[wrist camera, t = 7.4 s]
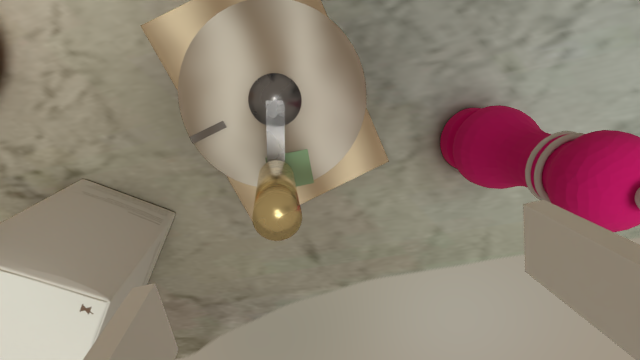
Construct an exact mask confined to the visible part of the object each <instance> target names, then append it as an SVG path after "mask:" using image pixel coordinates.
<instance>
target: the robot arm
mask: <svg viewBox="0 0 640 360" xmlns="http://www.w3.org/2000/svg"><path fill="white" fill-rule="evenodd" d="M523 214H524V248H525V272H526V273H528V274H529V275H530V276H531V277H533V278H534V279H535V280H536V281H538V282H539V283H540V284H541V285H543V286H544V287H545V288H547V289H548V290H549V291H550V292H551V293H553V294H554V295H555V296H556V297H558V298H559V299H560V300H562V301H563V302H564V303H565V304H567V305H568V306H569V307H570V308H572V309H573V310H574V311H575V312H577V313H578V314H579V315H580V316H582V317H583V318H584V319H585V320H587V321H588V322H589V323H590V324H592V325H593V326H594V327H596V328H597V329H598V330H599V331H600V332H602V333H603V334H604V335H605V336H607V337H608V338H609V339H611V340H612V341H613V342H614V343H615V344H617V345H618V346H619V347H621V348H622V349H623V350H624V351H626V352H627V353H628V354H629V355H631V356H632V357H633V358H634V359H636V360H640V245H639V244H637V243H635V242H633V241H631V240H629V239H626V238H624V237H622V236H620V235H618V234H616V233H614V232H612V231H609V230H607V229H605V228H603V227H601V226H599V225H597V224H594V223H592V222H590V221H588V220H586V219H584V218H582V217H580V216H577V215H575V214H573V213H571V212H569V211H567V210H565V209H562V208H560V207H558V206H556V205H554V204H552V203H550V202H548V201H545V200H540V201H535V202H530V203H526V204H523ZM177 352H178V347H177V344H176V341H175V338H174V335H173V333H172V330H171V327H170V324H169V321H168V318H167V315H166V313H165V310H164V307H163V304H162V301H161V298H160V295H159V293H158V290H157V287H156V284H155V283H153V284H148V285H144V286H139V287H134V288H132V289H131V291H130V292H129V294H128V295H127V297H126V298H125V299H124V301H123V302H122V304H121V305H120V307H119V308H118V310H117V311H116V312H115V314H114V315H113V317H112V318H111V320H110V321H109V323H108V324H107V325H106V327H105V328H104V330H103V331H102V333H101V334H100V336H99V337H98V338H97V340H96V341H95V343H94V344H93V346H92V347H91V349H90V350H89V351H88V353H87V354H86V356H85V357H84V359H83V360H175V357H176V354H177Z"/></svg>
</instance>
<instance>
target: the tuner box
mask: <svg viewBox="0 0 640 360" xmlns="http://www.w3.org/2000/svg"><path fill="white" fill-rule="evenodd" d="M141 27H142V29H143V31H144V33H145V34H146V36H147V38H148V40H149V41H150V43H151V45H152V47H153V48H154V50H155V52H156V54H157V55H158V57H159V59H160V61H161V62H162V64H163V66H164V68H165V69H166V71H167V73H168V75H169V76H170V78H171V80H172V82H173V83H174V85H175V87H176V89H177V90H178V99H179V107H180V112H181V117H182V120H183V122H184V125H185V128H186V130H187V132H188V134H189V136H190V137H189V138H190V139H191V141H192V143H193V144H194V145H195V146H196V148H197V149H198V151H199V152H200V153H201V154H202V155H203V156H204V158H205V159H206V160H207V161H208V162H209V163H211V164H212V165H213V166H214V167H215V168H216V169H218V170H219V171H221V172H222V173H224V174H225V175H226V176H227V178H228V179H229V181H230V183H231V185H232V186H233V188H234V190H235V192H236V193H237V195H238V197H239V199H240V200H241V202H242V204H243V206H244V207H245V209H246V211H247V213H248V214H249V216H250V218H251V220H252V215H253V209H254V202H255V196H256V189H257V183H258V176H259V172H260V169H261V168H262V167H263V165H265V164H266V163H267V134H266V125H264V124H262V123H261V122H259V121H258V120H257V119H256V118H255V117H254V116H253V114H252V112H251V110H250V108H249V103H248V96H249V91H250V89H251V87H252V85H253V83H254V82H255V81H256V80H257V79H258V78H260V77H261V76H263V75H266V74H270V73H279V74H283V75H285V76H287V77H289V78H290V79H292V80H293V81H294V82H295V84H296V85H297V86H298V88H299V90H300V93H301V99H302V102H301V108H300V111H299V113H298V115H297V116H296V118H295V119H294V120H293V121H292V122H290V123H289V124H287V125H285V163H287V164H288V165H289V166H290V167H291V169H292V171H293V174H294V179H295V184H296V188H297V193H298V198H299V203H300V204H303V203H305V202H307V201H309V200H311V199H313V198H315V197H317V196H319V195H321V194H323V193H325V192H327V191H329V190H331V189H333V188H335V187H337V186H339V185H341V184H344V183H346V182H348V181H350V180H352V179H354V178H356V177H358V176H360V175H362V174H364V173H366V172H368V171H370V170H372V169H374V168H376V167H378V166H380V165H382V164H384V163H387V162H389V160H388V158H387V156H386V153H385V151H384V148H383V146H382V144H381V141H380V139H379V137H378V134H377V132H376V130H375V127H374V125H373V122H372V120H371V118H370V115H369V113H368V111H367V108H366V82H365V77H364V72H363V68H362V65H361V62H360V59H359V57H358V55H357V53H356V51H355V49H354V47H353V45H352V44H351V42H350V41H349V39H348V38H347V36H346V35H345V34H344V33H343V31H342V30H341V29H340V28H339V27H338V26H337V25H336V24H335V23H334V22H333V21H332V20H330V19H329V18H328V16H327V14H326V11H325V9H324V7H323V4H322V2H321V0H191V1H189V2H187V3H185V4H183V5H181V6H179V7H177V8H175V9H173V10H171V11H169V12H167V13H165V14H163V15H161V16H159V17H157V18H155V19H153V20H151V21H149V22H147V23H145V24H143V25H141ZM252 221H253V220H252Z"/></svg>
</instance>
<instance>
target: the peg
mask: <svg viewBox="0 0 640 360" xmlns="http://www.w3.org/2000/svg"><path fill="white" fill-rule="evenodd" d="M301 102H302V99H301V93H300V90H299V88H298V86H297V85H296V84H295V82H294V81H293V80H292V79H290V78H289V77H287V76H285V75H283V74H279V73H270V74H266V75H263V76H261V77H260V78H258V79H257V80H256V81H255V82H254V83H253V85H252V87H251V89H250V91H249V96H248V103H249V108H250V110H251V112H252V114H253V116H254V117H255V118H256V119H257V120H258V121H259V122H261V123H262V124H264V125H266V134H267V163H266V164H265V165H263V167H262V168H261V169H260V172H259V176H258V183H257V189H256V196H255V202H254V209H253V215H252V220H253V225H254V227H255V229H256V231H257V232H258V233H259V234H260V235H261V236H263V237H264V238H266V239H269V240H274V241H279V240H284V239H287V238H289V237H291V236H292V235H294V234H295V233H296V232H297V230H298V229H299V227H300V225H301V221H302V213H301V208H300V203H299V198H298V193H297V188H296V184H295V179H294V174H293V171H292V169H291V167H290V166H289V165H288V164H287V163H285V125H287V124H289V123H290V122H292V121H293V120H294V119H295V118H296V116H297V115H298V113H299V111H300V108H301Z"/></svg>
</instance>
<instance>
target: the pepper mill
mask: <svg viewBox="0 0 640 360" xmlns="http://www.w3.org/2000/svg"><path fill="white" fill-rule="evenodd" d="M440 147H441V152H442V154H443V157H444V158H445V160H446V161H447V162H448V163H449V164H450V165H451V166H453V167H455V168H456V169H458V170H459V171H460V173H461V174H462V175H463V176H464V177H465V178H466V179H467V180H469V181H470V182H473V183H475V184H477V185H480V186H483V187H487V188H498V189H503V188H509V187H515V186H525V187H528V188H529V190H530V192H531V193H532V194H533V195H534V196H535V197H536V198H538V199H539V200H545V201H548V202H550V203H552V204H554V205H556V206H558V207H560V208H562V209H565V210H567V211H569V212H571V213H573V214H575V215H577V216H580V217H582V218H584V219H586V220H588V221H590V222H592V223H594V224H597V225H599V226H601V227H603V228H605V229H607V230H609V231H612V232H617V231H622V230H627V229H630V228H632V227H635V226H637V225H639V224H640V137H638V136H635V135H633V134H630V133H625V132H620V131H609V130H602V131H595V132H591V133H588V134H583V133H576V132H571V131H562V132H557V133H555V134H552V135H551V134H548V133H545V132H544V131H542V130H541V129H540V128H539V126H538V125H537V124H536V122H535V121H534V120H533V119H532V118H530V117H529V116H528V115H526V114H525V113H523V112H522V111H520V110H517V109H514V108H511V107H507V106H500V105H499V106H488V107H485V108H468V109H464V110H462V111H459V112H458V113H456V114H455V115H454V116H453V117H452V118H450V119H449V121H448V122H447V123H446V125H445V127H444V129H443V131H442V134H441V141H440Z"/></svg>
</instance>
